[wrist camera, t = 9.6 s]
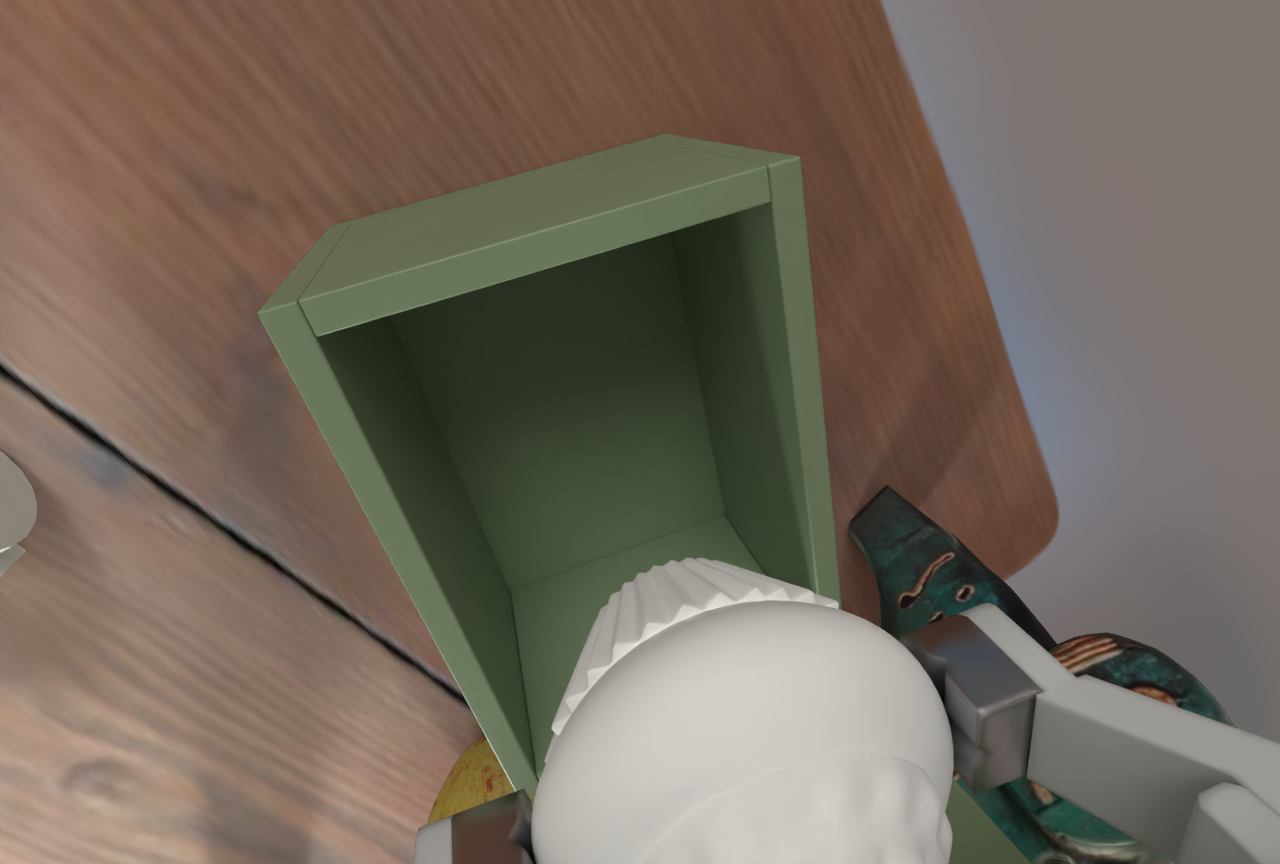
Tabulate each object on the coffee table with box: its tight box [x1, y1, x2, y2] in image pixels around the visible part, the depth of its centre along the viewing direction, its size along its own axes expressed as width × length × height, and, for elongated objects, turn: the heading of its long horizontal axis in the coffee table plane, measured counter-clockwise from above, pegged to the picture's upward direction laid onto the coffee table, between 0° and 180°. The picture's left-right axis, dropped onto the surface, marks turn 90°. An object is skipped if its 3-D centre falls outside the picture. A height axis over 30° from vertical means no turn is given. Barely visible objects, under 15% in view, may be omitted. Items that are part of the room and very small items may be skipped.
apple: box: [427, 735, 536, 825], centre depth 30 cm, size 9×9×10 cm
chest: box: [258, 133, 842, 795], centre depth 22 cm, size 17×12×10 cm
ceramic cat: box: [849, 485, 1237, 864], centre depth 26 cm, size 20×6×20 cm, turn 136°
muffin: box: [531, 558, 954, 864], centre depth 9 cm, size 6×6×7 cm
